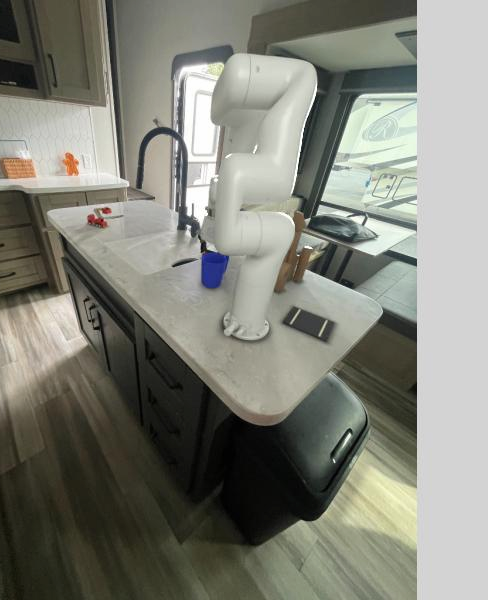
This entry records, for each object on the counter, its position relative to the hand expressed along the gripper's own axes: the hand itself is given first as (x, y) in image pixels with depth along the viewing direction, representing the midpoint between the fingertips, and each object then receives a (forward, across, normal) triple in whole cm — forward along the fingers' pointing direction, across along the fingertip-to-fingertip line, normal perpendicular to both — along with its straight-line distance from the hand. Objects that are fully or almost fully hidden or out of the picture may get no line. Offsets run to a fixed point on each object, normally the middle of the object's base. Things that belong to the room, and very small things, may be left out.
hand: (212, 255), depth 109 cm
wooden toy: (+1, +30, +1) cm, 30 cm away
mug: (+1, +11, -16) cm, 19 cm away
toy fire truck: (+2, -60, -8) cm, 61 cm away
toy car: (-1, 0, 0) cm, 1 cm away
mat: (+1, +44, -17) cm, 47 cm away
